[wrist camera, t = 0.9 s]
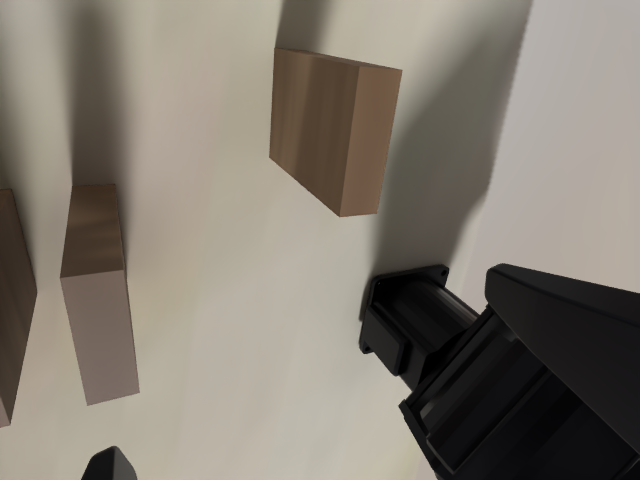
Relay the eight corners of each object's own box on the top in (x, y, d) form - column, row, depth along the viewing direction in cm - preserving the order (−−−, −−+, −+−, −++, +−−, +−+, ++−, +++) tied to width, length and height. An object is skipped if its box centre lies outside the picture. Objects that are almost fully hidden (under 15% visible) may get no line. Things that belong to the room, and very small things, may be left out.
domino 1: (114, 184, 18) (123, 269, 12) (126, 280, 20) (139, 392, 14) (72, 186, 17) (59, 277, 11) (89, 285, 19) (87, 406, 14)
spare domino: (307, 51, 19) (402, 70, 13) (298, 156, 21) (376, 213, 15) (274, 48, 18) (359, 66, 12) (269, 157, 21) (339, 217, 15)
